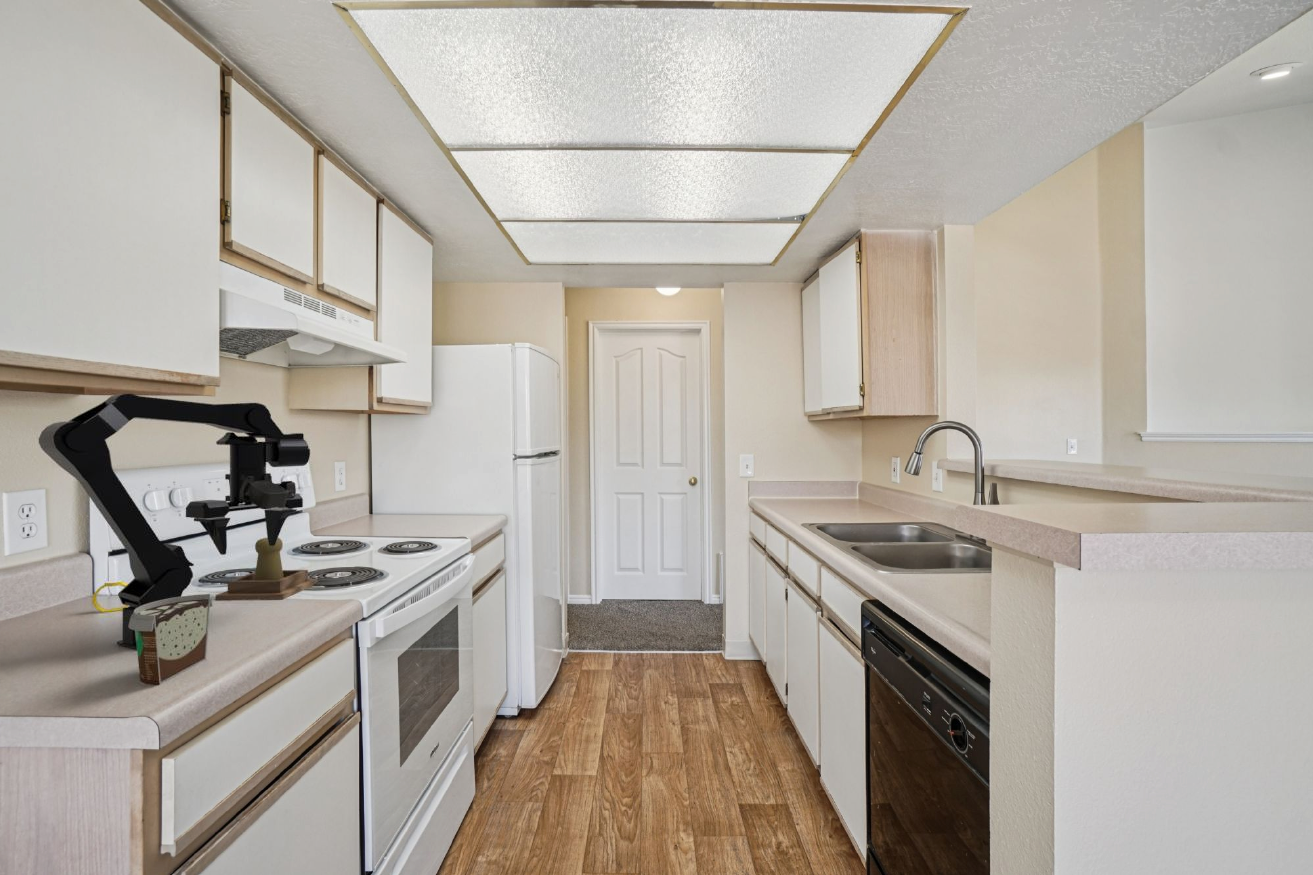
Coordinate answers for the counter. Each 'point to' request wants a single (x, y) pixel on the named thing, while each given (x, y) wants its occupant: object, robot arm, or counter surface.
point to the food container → (171, 636)
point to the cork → (268, 560)
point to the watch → (109, 583)
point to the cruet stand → (267, 586)
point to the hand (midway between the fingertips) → (248, 549)
